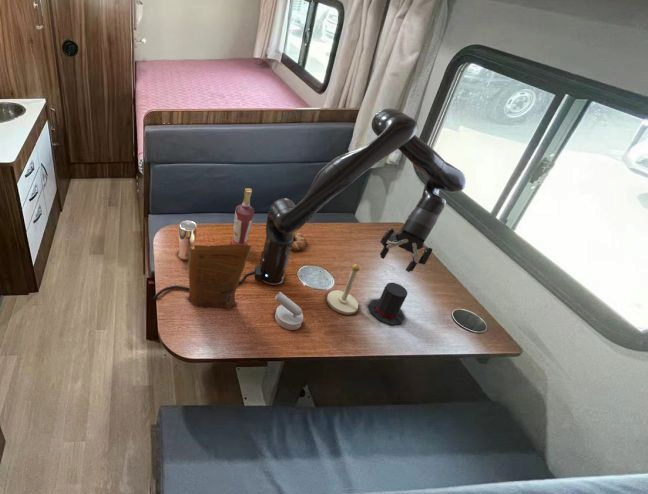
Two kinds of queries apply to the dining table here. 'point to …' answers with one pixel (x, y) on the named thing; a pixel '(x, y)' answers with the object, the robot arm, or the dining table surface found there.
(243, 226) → the liquor
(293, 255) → the dining table surface
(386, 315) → the hat
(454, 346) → the dining table surface
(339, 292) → the hat stand
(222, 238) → the dining table surface
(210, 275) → the pancake mix bag
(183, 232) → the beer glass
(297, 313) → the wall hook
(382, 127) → the robot arm
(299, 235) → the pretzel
